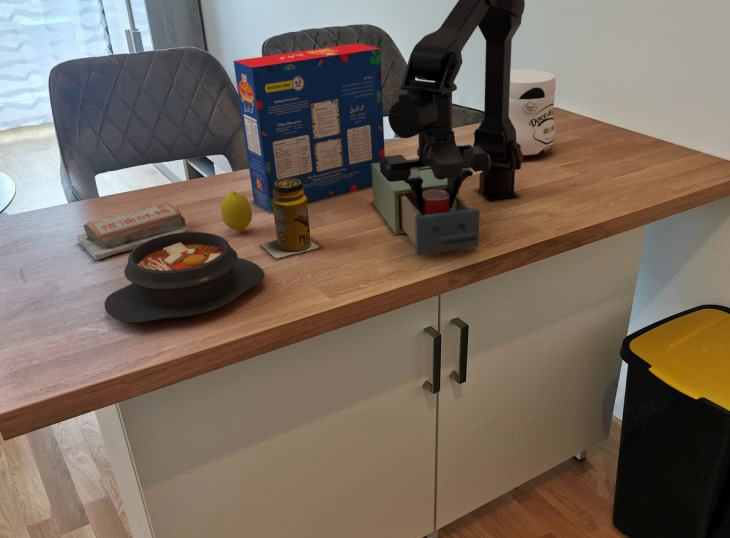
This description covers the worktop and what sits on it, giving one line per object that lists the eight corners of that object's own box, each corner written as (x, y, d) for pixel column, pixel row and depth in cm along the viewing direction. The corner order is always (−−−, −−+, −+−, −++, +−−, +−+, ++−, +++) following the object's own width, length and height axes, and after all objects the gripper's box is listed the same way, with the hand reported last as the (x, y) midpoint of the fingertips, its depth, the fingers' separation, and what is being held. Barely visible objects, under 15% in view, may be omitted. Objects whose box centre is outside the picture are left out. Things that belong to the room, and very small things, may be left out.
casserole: (133, 349, 103) (119, 297, 99) (90, 301, 115) (76, 253, 111) (287, 295, 116) (281, 247, 112) (234, 257, 129) (226, 212, 124)
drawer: (490, 259, 125) (491, 222, 121) (427, 269, 122) (427, 231, 118) (449, 215, 142) (449, 181, 138) (393, 222, 139) (391, 188, 135)
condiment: (319, 248, 132) (313, 184, 125) (276, 259, 128) (267, 194, 121) (302, 234, 137) (295, 173, 130) (260, 245, 133) (251, 182, 127)
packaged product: (166, 196, 141) (187, 211, 135) (171, 219, 144) (192, 235, 137) (70, 219, 132) (89, 236, 125) (77, 244, 134) (96, 262, 128)
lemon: (259, 228, 140) (254, 188, 135) (244, 239, 135) (238, 198, 131) (235, 224, 141) (228, 185, 137) (219, 235, 137) (212, 195, 133)
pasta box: (366, 173, 166) (358, 43, 151) (386, 182, 160) (380, 48, 146) (253, 201, 152) (233, 60, 137) (271, 212, 146) (251, 67, 131)
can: (453, 225, 131) (454, 197, 128) (426, 228, 129) (426, 201, 127) (444, 215, 135) (444, 188, 132) (418, 218, 134) (417, 191, 131)
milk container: (558, 163, 171) (565, 83, 161) (484, 163, 171) (487, 84, 161) (548, 141, 185) (554, 67, 176) (481, 141, 186) (483, 68, 176)
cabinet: (458, 225, 140) (459, 182, 135) (395, 234, 136) (394, 191, 132) (431, 196, 153) (431, 156, 148) (373, 204, 150) (371, 163, 145)
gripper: (395, 141, 114) (398, 233, 122) (505, 129, 118) (500, 219, 127) (377, 123, 123) (381, 210, 131) (479, 113, 127) (477, 197, 136)
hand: (435, 209), depth 131 cm, fingers closed on can, 5 cm apart
